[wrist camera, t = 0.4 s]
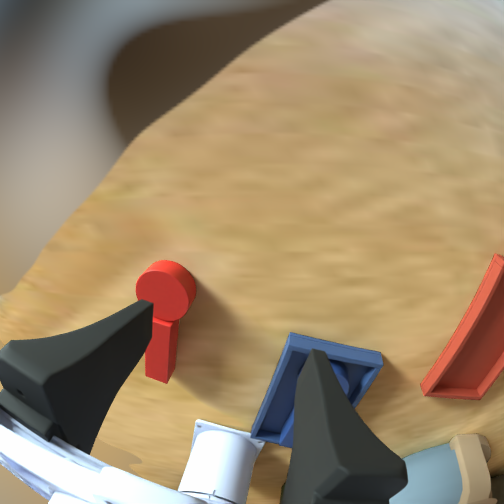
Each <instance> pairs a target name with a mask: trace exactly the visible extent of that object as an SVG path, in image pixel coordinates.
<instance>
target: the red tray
mask: <svg viewBox="0 0 504 504" xmlns="http://www.w3.org/2000/svg"><path fill="white" fill-rule="evenodd" d="M503 370H504V257H503V256H500V255H498V254H494V257H493V259H492V261H491V264H490V266H489V268H488V270H487V272H486V274H485V277H484V279H483V281H482V283H481V285H480V287H479V289H478V291H477V293H476V295H475V297H474V299H473V301H472V302H471V304H470V306H469V308H468V310H467V312H466V314H465V315H464V317H463V319H462V321H461V322H460V324H459V326H458V328H457V329H456V331H455V333H454V334H453V336H452V338H451V339H450V341H449V342H448V344H447V346H446V347H445V349H444V350H443V352H442V354H441V355H440V357H439V358H438V360H437V361H436V363H435V364H434V366H433V367H432V368H431V370H430V371H429V373H428V374H427V376H426V377H425V378H424V380H423V381H422V383H421V384H420V386H421V389H422V392H423V395H424V396H428V397H439V398H452V399H468V400H480V399H481V398H482V397H483V396H484V395H485V393H486V392H487V391H488V390H489V388H490V387H491V386H492V385H493V383H494V382H495V381H496V379H497V378H498V377H499V375H500V374H501V373H502V371H503Z"/></svg>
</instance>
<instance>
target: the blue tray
mask: <svg viewBox="0 0 504 504" xmlns="http://www.w3.org/2000/svg"><path fill="white" fill-rule="evenodd" d="M312 348H313V349H317V350H322V351H325V352H326V354H327V356H328V359H333V360H338V361H340V362H342V363H343V364H344V365H345V366H346V368H347V370H348V376H349V386H350V388H349V392H348V394H347V398H348V400H349V401H350V403H351V405H352V406H353V408H354V409H355V407H356V406H357V404H358V403H359V402H360V400H361V399H362V397H363V396H364V394H365V393H366V391H367V390H368V388H369V387H370V385H371V384H372V382H373V381H374V379H375V378H376V376H377V375H378V373H379V371H380V370H381V368H382V367H383V365H384V364H383V360H382V356H381V352H377V351H372V350H367V349H362V348H357V347H352V346H348V345H343V344H338V343H334V342H329V341H325V340H320V339H316V338H312V337H308V336H303V335H299V334H295V333H291V332H290V334H289V336H288V339H287V342H286V344H285V347H284V350H283V352H282V355H281V357H280V360H279V363H278V365H277V368H276V370H275V373H274V375H273V378H272V380H271V383H270V385H269V388H268V390H267V393H266V395H265V398H264V400H263V403H262V405H261V407H260V410H259V412H258V414H257V417H256V419H255V422H254V424H253V426H252V430H251V435H250V438H252V439H256V440H261V441H265V442H270V443H275V444H280V436H281V429H282V427H283V426H284V424H285V422H286V420H287V418H288V417H289V415H290V413H291V411H292V409H293V407H294V399H295V392H296V385H297V374H298V371H299V369H300V368H301V367H302V366H303V365H304V364H305V362H306V360H307V358H308V356H309V353H310V351H311V349H312Z"/></svg>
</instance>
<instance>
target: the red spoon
mask: <svg viewBox="0 0 504 504" xmlns="http://www.w3.org/2000/svg"><path fill="white" fill-rule="evenodd" d="M136 295H137V298H138V301H139V300H141V299H143V300H146V301H149V302H152V303H154V308H153V329H152V339H151V341H150V343H149V345H148V347H147V349H146V350H145V374H146V376H147V377H150V378H152V379H155V380H158V381H161V382H163V383H166V384H167V383H168V381H169V379H170V377H171V375H172V373H173V371H174V369H175V362H176V350H177V339H178V329H179V319H180V318H182V317H183V316H184V315H185V314H186V312H187V311H188V309H189V307H190V306H191V304H192V302H193V301H194V299H195V296H196V285H195V282H194V279H193V277H192V276H191V274H190V273H189V272H188V271H187V270H186V269H185V268H184V267H183V266H181V265H180V264H178V263H175V262H173V261H167V260H162V261H158V262H155V263H153V264H152V265H151V266H150V267H149V268H148V269H147V270H146V271H145V272H144V273H143V274H142V275H141V276H140V277H139V279H138V280H137V283H136Z"/></svg>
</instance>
